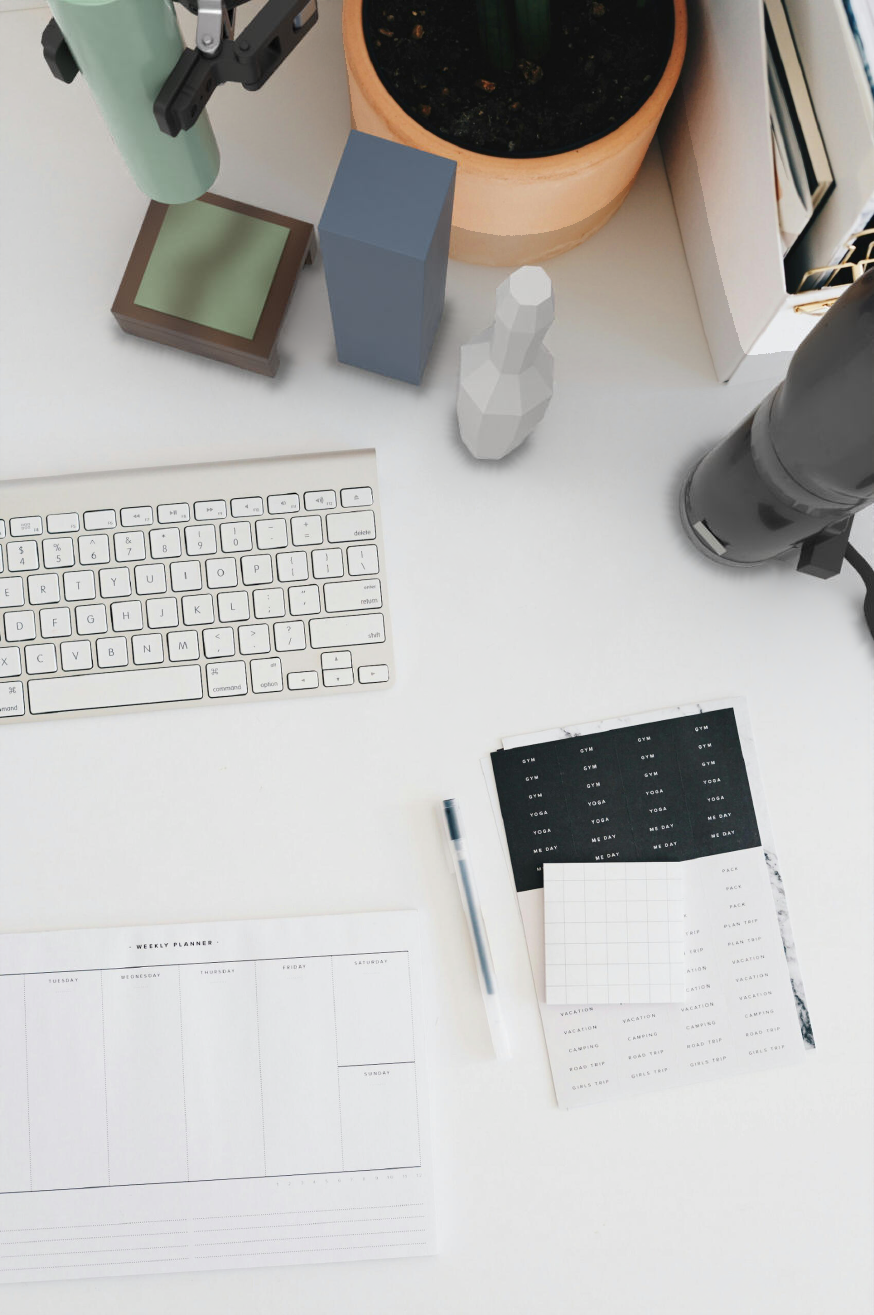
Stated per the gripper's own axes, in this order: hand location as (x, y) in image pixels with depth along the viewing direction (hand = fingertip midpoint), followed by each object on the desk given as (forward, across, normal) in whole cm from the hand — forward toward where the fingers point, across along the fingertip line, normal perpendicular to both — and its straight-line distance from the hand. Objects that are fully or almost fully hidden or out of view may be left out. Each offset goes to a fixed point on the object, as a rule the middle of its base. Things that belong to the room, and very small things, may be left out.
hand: (109, 96), depth 47 cm
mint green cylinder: (-2, 0, +8) cm, 9 cm away
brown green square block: (-2, 0, +24) cm, 24 cm away
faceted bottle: (-2, +24, +24) cm, 34 cm away
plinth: (-5, +13, +24) cm, 28 cm away
